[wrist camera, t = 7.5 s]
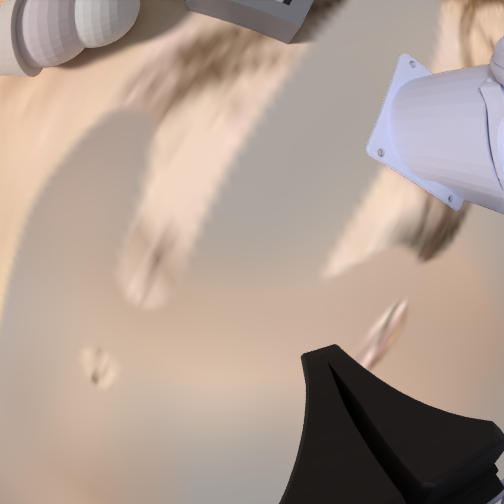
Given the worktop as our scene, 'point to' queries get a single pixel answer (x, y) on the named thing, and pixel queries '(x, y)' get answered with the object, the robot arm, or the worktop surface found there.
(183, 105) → the worktop surface
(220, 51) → the worktop surface
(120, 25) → the ice cream cone
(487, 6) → the worktop surface
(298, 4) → the grey compartment tray
